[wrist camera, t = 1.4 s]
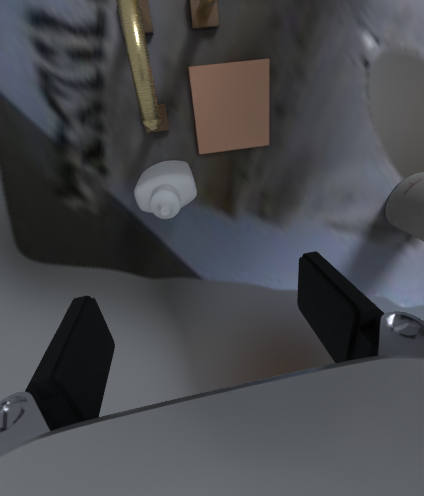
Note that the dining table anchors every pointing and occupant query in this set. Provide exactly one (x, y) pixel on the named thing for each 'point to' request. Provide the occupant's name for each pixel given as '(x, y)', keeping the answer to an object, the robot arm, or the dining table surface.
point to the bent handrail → (134, 30)
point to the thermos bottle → (408, 206)
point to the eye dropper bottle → (165, 188)
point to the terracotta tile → (231, 105)
